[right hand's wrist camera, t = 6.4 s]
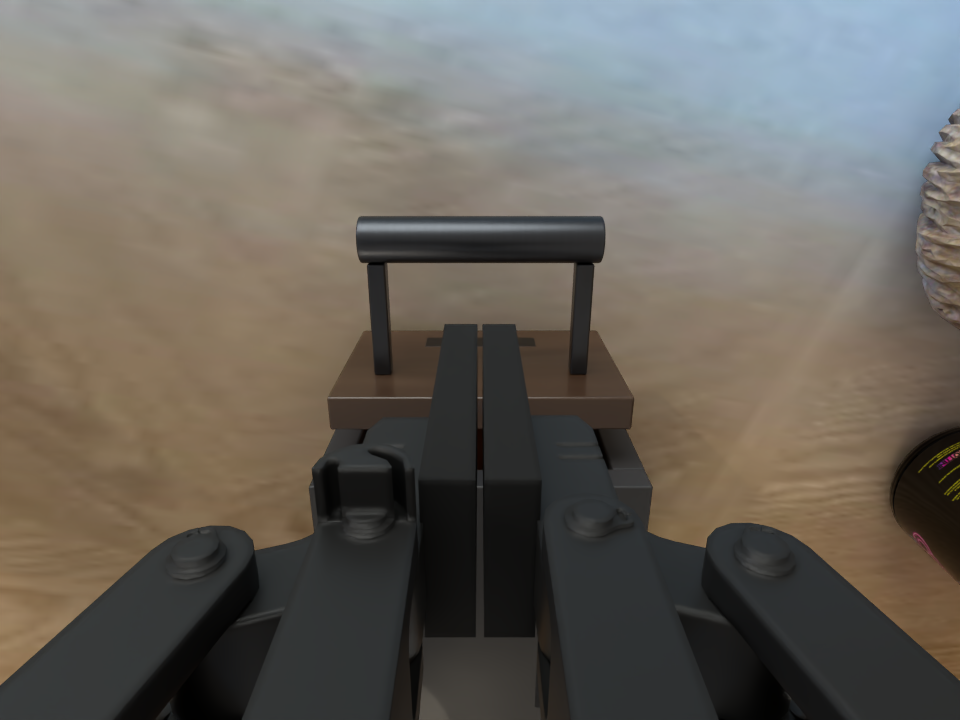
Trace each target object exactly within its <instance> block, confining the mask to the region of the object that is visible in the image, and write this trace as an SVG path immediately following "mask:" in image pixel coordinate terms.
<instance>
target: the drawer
mask: <svg viewBox="0 0 960 720" xmlns="http://www.w3.org/2000/svg"><path fill="white" fill-rule="evenodd" d="M356 245H357V253H358V257H359V260H360V262H361V263H368V265H367V273H368V288H369V302H370V317H371V331H364V332H363V334H362V336H361V337H360V339H359V341H358V343H357V345H356V347H355V349H354V350H353V352H352V354H351V356H350V358H349V360H348V361H347V363H346V365H345V367H344V369H343V371H342V372H341V374H340V376H339V378H338V380H337V382H336V383H335V385H334V387H333V389H332V391H331V393H330V394H329V396H328V399H327V401H328V411H329V420H330V427H331V429H370V428H371V427H372V426H373V425H374V424H376V423H377V422H378V421H379V420H380V419H382V418H383V417H429V413H430V408H431V402H432V396H433V390H434V384H435V378H436V373H437V367H438V361H439V355H440V349H441V343H442V337H443V332H444V331H391V323H390V305H389V287H388V270H387V263H574V275H573V292H572V310H571V327H570V331H516V332H517V338H518V343H519V349H520V355H521V361H522V367H523V373H524V378H525V384H526V390H527V396H528V402H529V408H530V413H531V415H577V416H578V417H580V418H581V419H582V420H583V421H584V422H586V423H587V424H588V425H589V426H591V427H592V428H593V429H630V428H631V425H632V415H633V405H634V397H633V395H632V394H631V392H630V390H629V388H628V386H627V385H626V383H625V381H624V379H623V377H622V375H621V374H620V372H619V370H618V368H617V366H616V365H615V363H614V361H613V359H612V357H611V356H610V354H609V352H608V350H607V348H606V347H605V345H604V343H603V341H602V339H601V338H600V336H599V334H598V332H597V331H590V321H591V307H592V292H593V278H594V264H593V263H600V262H601V261H602V258H603V255H604V249H605V224H604V220H603V218H602V217H601V216H361V217H359V218H358V221H357V227H356ZM482 399H483V331H477V405H478V434H477V470H483V435H482Z"/></svg>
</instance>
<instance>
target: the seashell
mask: <svg viewBox="0 0 960 720" xmlns="http://www.w3.org/2000/svg"><path fill="white" fill-rule="evenodd" d="M949 122H950V124H951V125H946V126H945V127H944V128H943V129H942V130H941V131H940V132H939V134H940V136H941V138H942V140H943V142H935V143H934V145H933V146H932V148H931V151H932V152H933V153H934V154H935V155H936V156H937V158H938V159H939V160H940V161H941V162H933V163H929V164H928V165H927V166H926V168H925V169H924V170H923V177H924V178H926V179H927V180H928V181H927V182H926V183H924V184H923V185H922V186H921V193H920V195H921V197H922V204H921V209H922V211H923V213H921V214H920V216H919V218H918V221H917V233H916V236H917V240H916V247H915V250H916V253H917V255H918V260H917V268H918V272H919V274H920V275H921V276H922V277H923V279H922V282H923V286H924V290H925V294H926V296H927V298H928V299H929V301H930V305H931V307H932V308H933V309H934V310H935V311H936V312H937V313H938V314H939V316H940V317H941V318H943V319H945V320H946V321H948V322H949V323H950V324H952V325H953V326H955V327H956V328H958V329H959V330H960V109H957V110H956V111H955V112H954V113H953V114H952V115H951V117H950V118H949Z"/></svg>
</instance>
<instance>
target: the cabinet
mask: <svg viewBox="0 0 960 720" xmlns="http://www.w3.org/2000/svg"><path fill="white" fill-rule="evenodd" d="M367 430H368V429H336V430H335V432H334V435H333V437H332V439H331V441H330V443H329V445H328V448H327V450H326V452H325V454H324V456H325V455H327V454H329V453H330V452H332V451H334V450H337V449H340V448H343V447H347V446H350V445H356V444H363V441H364V439H365V436H366V433H367ZM593 431H594V433H595V436H596V439H597V442H598V446H599V447H600V450H601V453H602V455H603V459H604V461H605V464H606V466H607V469H608V472H609V475H610V477H611V480H612V483H613V486H614V488H615V491H616V494H617V497H618V499H619V500H620V501H621V502H623V503H624V504H626V505H627V506H629V507H630V508H632V509H633V510H634V511H635V512H636V513H637V515H638V516H639V518H640V519H641V520H642V522H643V525H644V528H645V530H646V531H647V530H648V522H649V513H650V505H651V497H652V489H653V487H652V485H651V483H650V481H649V478H648V476H647V474H646V472H645V470H644V467H643V465H642V463H641V461H640V459H639V457H638V455H637V452H636V450H635V448H634V446H633V444H632V442H631V440H630V438H629V435H628V433H627V431H626V429H593ZM309 493H310V501H311V510H312V518H313V526H314V531H315V528H316V526H317V523H318V518H317V509H316V501H315V492H314V484H313V480H312V482H311V484H310V486H309ZM422 644H423V666H424V669H423V680H422V691H421V702H420V713H419V720H541V713H540V707H535V687H536V666H537V644H538V637H537V628H535V637H484V561H483V470H477V560H476V637H425V628H424V631H423V640H422Z"/></svg>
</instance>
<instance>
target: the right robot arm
mask: <svg viewBox="0 0 960 720" xmlns="http://www.w3.org/2000/svg"><path fill="white" fill-rule="evenodd" d="M477 434H478V405H477V324H445V326H444V332H443V337H442V343H441V349H440V355H439V361H438V367H437V373H436V378H435V384H434V390H433V396H432V402H431V408H430V413H429V417H383V418H382V419H380V420H379V421H378V422H377V423H376V424H374V425H373V426H372V427H371V428H370V429H368V430H367V433H366V436H365V439H364V441H363V444H356V445H350V446H347V447H343V448H340V449H337V450H334V451H332V452H330V453H329V454H327V455H325V456H323V457H322V458H320V459H319V460H318V462H317V463H316V464H315V465H314V466H313V468H312V475H313V484H314V492H315V501H316V509H317V518H318V523H317V526H316V528H315V531H314V534H312V535H310V536H308V537H306V538H303V539H301V540H298V541H295V542H291V543H288V544H284V545H279V546H274V547H270V548H265V549H260V550H255V551H254V545H253V540H252V539H251V538H250V537H249V536H248V535H247V534H246V532H245V531H242V530H239V529H237V528H234V527H231V526H206V527H201V528H196V529H192V530H188V531H186V532H183V533H181V534H178V535H176V536H173V537H171V538H169V539H167V540H166V541H164V542H163V543H161V544H160V545H158V546H157V547H156V548H154V549H153V550H151V551H150V552H149V553H148V554H147V555H146V556H144V557H143V558H142V559H141V560H140V561H139V562H138V563H137V564H136V565H134V566H133V567H132V568H131V569H130V570H129V571H128V572H127V573H125V574H124V575H123V576H122V577H121V578H120V579H119V580H118V581H117V582H115V583H114V584H113V585H112V586H111V587H110V588H109V589H108V590H106V591H105V592H104V593H103V594H102V595H101V596H100V597H99V598H98V599H96V600H95V601H94V602H93V603H92V604H91V605H90V606H89V607H87V608H86V609H85V610H84V611H83V612H82V613H81V614H80V615H79V616H77V617H76V618H75V619H74V620H73V621H72V622H71V623H70V624H68V625H67V626H66V627H65V628H64V629H63V630H62V631H61V632H60V633H58V634H57V635H56V636H55V637H54V638H53V639H52V640H51V641H50V642H48V643H47V644H46V645H45V646H44V647H43V648H42V649H41V650H39V651H38V652H37V653H36V654H35V655H34V656H33V657H32V658H31V659H29V660H28V661H27V662H26V663H25V664H24V665H23V666H22V667H20V668H19V669H18V670H17V671H16V672H15V673H14V674H13V675H12V676H10V677H9V678H8V679H7V680H6V681H5V682H4V683H3V684H1V685H0V720H419V713H420V702H421V691H422V680H423V669H424V666H423V644H422V640H423V631H424V628H425V637H476V560H477ZM482 435H483V561H484V637H535V628H537V637H538V644H537V666H536V687H535V707H540V713H541V720H960V681H959V680H958V679H957V678H956V677H955V676H954V675H952V674H951V673H950V672H949V671H948V670H947V669H946V668H945V667H943V666H942V665H941V664H940V663H939V662H938V661H937V660H936V659H934V658H933V657H932V656H931V655H930V654H929V653H928V652H927V651H925V650H924V649H923V648H922V647H921V646H920V645H919V644H918V643H916V642H915V641H914V640H913V639H912V638H911V637H910V636H908V635H907V634H906V633H905V632H904V631H903V630H902V629H901V628H899V627H898V626H897V625H896V624H895V623H894V622H893V621H892V620H890V619H889V618H888V617H887V616H886V615H885V614H884V613H883V612H881V611H880V610H879V609H878V608H877V607H876V606H875V605H874V604H872V603H871V602H870V601H869V600H868V599H867V598H866V597H865V596H863V595H862V594H861V593H860V592H859V591H858V590H857V589H856V588H854V587H853V586H852V585H851V584H850V583H849V582H848V581H847V580H845V579H844V578H843V577H842V576H841V575H840V574H839V573H838V572H836V571H835V570H834V569H833V568H832V567H831V566H830V565H829V564H827V563H826V562H825V561H824V560H823V559H822V558H821V557H820V556H818V555H817V554H816V553H815V552H814V551H813V550H812V549H810V548H809V547H808V546H806V545H805V544H803V543H802V542H801V541H799V540H798V539H796V538H795V537H793V536H792V535H789V534H787V533H784V532H782V531H779V530H777V529H775V528H772V527H768V526H764V525H759V524H753V523H731V524H728V525H725V526H722V527H719V528H716V529H715V530H714V531H713V532H712V533H711V535H710V536H709V537H708V539H707V545H706V548H703V547H698V546H694V545H689V544H684V543H679V542H675V541H671V540H668V539H664V538H661V537H658V536H656V535H654V534H651V533H649V532H647V531H646V530H645V528H644V525H643V522H642V520H641V519H640V518H639V516H638V515H637V513H636V512H635V511H634V510H633V509H632V508H630V507H629V506H627V505H626V504H624V503H623V502H621V501H620V500H619V499H618V497H617V494H616V491H615V488H614V486H613V483H612V480H611V477H610V475H609V472H608V469H607V466H606V464H605V461H604V459H603V455H602V453H601V450H600V447H599V446H598V442H597V439H596V436H595V433H594V431H593V428H592V427H591V426H589V425H588V424H587V423H586V422H584V421H583V420H582V419H581V418H580V417H578V416H577V415H531V413H530V408H529V402H528V396H527V390H526V384H525V378H524V373H523V367H522V361H521V355H520V349H519V343H518V338H517V332H516V326H515V324H483V399H482Z"/></svg>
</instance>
